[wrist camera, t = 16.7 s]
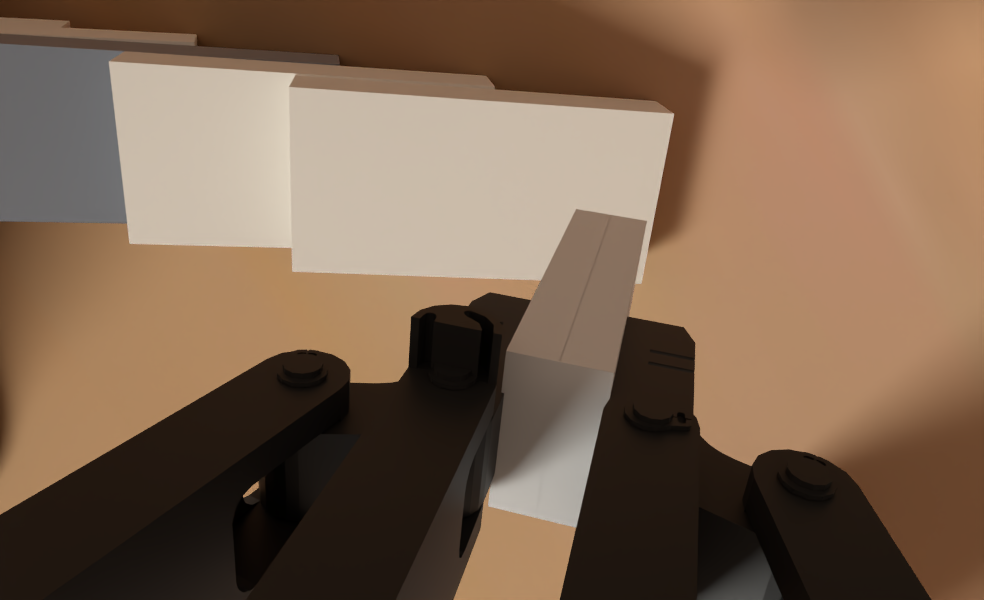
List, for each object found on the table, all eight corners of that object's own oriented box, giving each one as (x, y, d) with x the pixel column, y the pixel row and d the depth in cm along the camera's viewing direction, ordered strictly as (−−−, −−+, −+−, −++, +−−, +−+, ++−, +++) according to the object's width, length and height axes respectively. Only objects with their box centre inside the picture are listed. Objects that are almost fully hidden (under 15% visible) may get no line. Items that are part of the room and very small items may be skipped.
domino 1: (336, 209, 26) (3, 202, 24) (338, 54, 24) (-28, 31, 22) (338, 226, 25) (-16, 221, 23) (339, 64, 23) (-52, 40, 20)
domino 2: (472, 233, 25) (142, 223, 24) (485, 75, 23) (124, 51, 21) (479, 252, 24) (129, 243, 22) (494, 86, 22) (108, 61, 20)
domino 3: (626, 262, 24) (297, 249, 23) (656, 100, 22) (295, 75, 21) (641, 284, 23) (292, 271, 22) (674, 113, 21) (288, 86, 19)
